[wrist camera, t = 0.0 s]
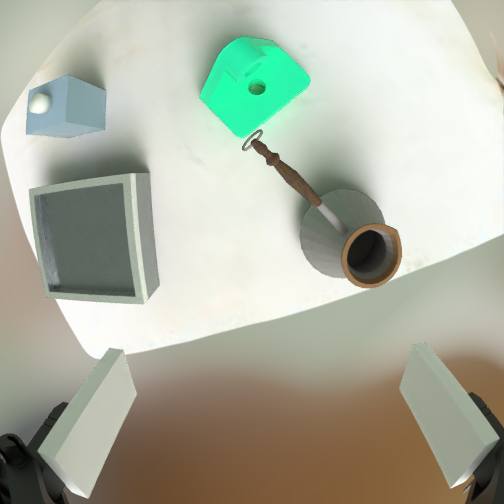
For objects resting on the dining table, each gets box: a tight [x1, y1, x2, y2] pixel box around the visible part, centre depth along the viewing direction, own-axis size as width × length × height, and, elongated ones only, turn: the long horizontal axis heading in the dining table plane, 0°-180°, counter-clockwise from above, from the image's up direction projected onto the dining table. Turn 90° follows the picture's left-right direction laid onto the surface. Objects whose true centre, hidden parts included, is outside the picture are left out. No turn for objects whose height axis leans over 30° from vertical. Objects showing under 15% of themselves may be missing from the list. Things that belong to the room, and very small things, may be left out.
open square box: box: [29, 172, 159, 304], centre depth 36 cm, size 16×17×6 cm
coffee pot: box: [242, 129, 402, 288], centre depth 30 cm, size 21×12×15 cm, turn 48°
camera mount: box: [199, 37, 311, 138], centre depth 29 cm, size 12×8×10 cm, turn 132°
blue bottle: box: [26, 75, 106, 138], centre depth 29 cm, size 6×7×12 cm
